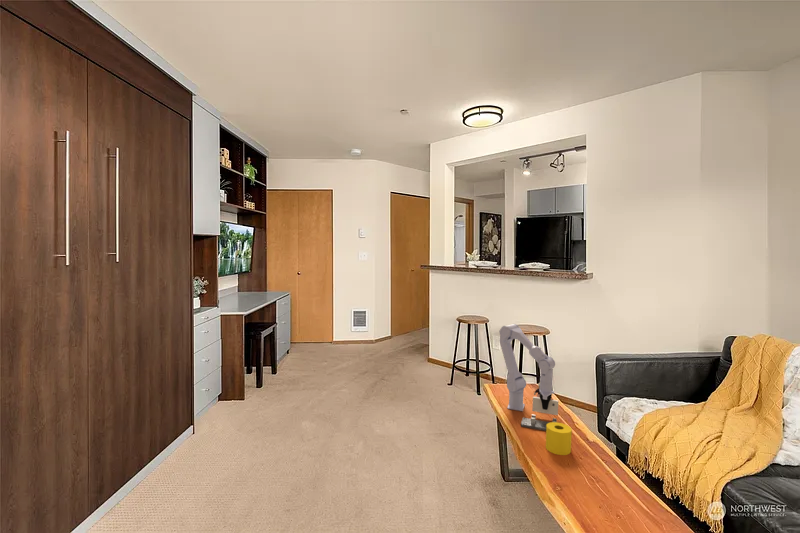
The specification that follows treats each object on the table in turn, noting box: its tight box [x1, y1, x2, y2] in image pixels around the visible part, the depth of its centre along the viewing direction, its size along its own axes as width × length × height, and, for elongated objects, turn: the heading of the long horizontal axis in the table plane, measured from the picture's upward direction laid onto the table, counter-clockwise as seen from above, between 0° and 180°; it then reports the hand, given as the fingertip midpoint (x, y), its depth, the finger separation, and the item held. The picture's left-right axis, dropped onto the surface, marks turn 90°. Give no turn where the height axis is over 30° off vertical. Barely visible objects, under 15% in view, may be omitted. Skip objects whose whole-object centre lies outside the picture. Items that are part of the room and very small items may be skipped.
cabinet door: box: [532, 396, 559, 416], centre depth 201 cm, size 2×12×7 cm, turn 67°
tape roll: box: [545, 421, 573, 456], centre depth 171 cm, size 10×10×9 cm
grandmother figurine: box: [533, 382, 540, 398], centre depth 216 cm, size 8×4×13 cm, turn 68°
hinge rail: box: [520, 413, 558, 432], centre depth 191 cm, size 8×20×4 cm, turn 67°
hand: (545, 408), depth 201 cm, fingers closed on cabinet door, 1 cm apart
